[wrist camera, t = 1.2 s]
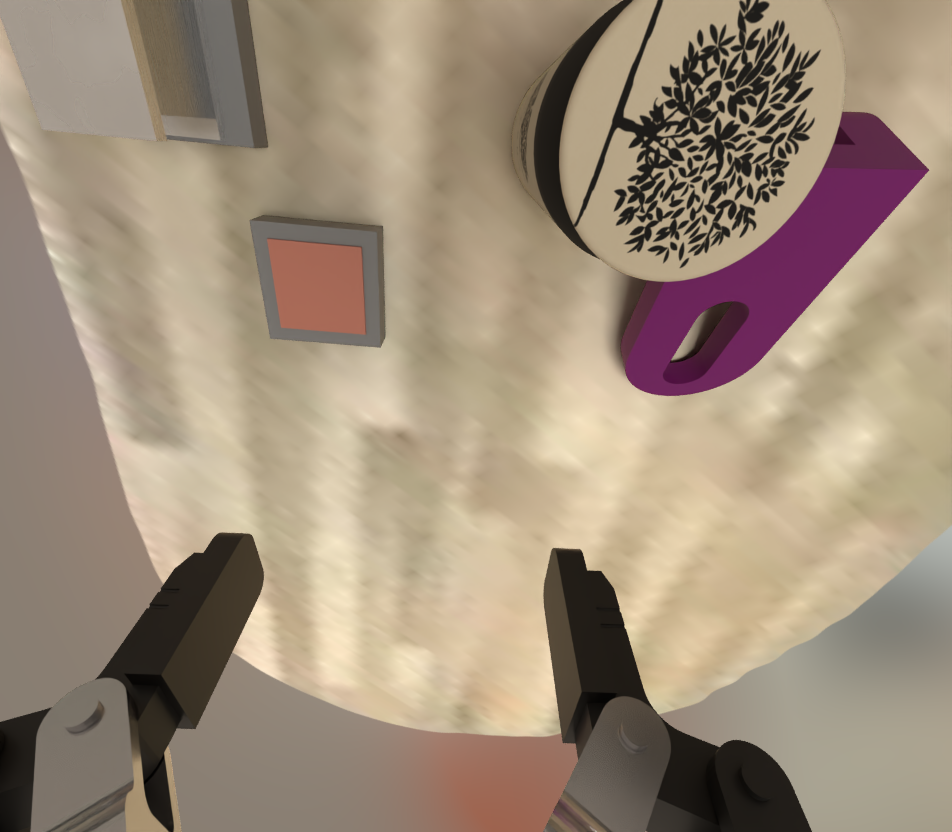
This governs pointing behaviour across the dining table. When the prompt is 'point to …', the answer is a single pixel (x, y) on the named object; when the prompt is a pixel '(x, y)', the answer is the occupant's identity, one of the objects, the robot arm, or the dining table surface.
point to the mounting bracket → (772, 268)
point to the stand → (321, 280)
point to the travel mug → (683, 130)
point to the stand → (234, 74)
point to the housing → (117, 66)
